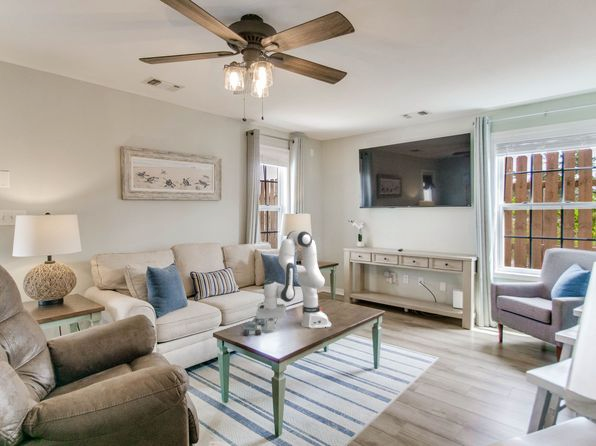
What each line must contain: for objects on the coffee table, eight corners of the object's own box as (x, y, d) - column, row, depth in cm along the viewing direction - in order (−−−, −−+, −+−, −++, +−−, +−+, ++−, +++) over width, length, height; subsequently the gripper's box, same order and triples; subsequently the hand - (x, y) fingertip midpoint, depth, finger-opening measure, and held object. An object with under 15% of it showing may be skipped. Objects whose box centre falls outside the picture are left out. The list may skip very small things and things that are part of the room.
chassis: (261, 330, 236) (261, 323, 236) (261, 335, 225) (261, 329, 225) (244, 330, 236) (244, 323, 235) (243, 336, 224) (243, 329, 224)
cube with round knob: (274, 326, 234) (274, 316, 234) (274, 329, 229) (274, 319, 229) (267, 327, 234) (267, 317, 234) (267, 329, 229) (267, 319, 229)
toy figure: (266, 329, 237) (266, 308, 237) (251, 328, 239) (251, 307, 239) (272, 322, 253) (272, 302, 253) (259, 321, 255) (259, 302, 255)
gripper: (285, 302, 235) (286, 322, 235) (256, 303, 234) (256, 323, 234) (285, 305, 228) (286, 325, 229) (255, 306, 227) (256, 326, 228)
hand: (271, 324), depth 231 cm, fingers closed on cube with round knob, 5 cm apart
